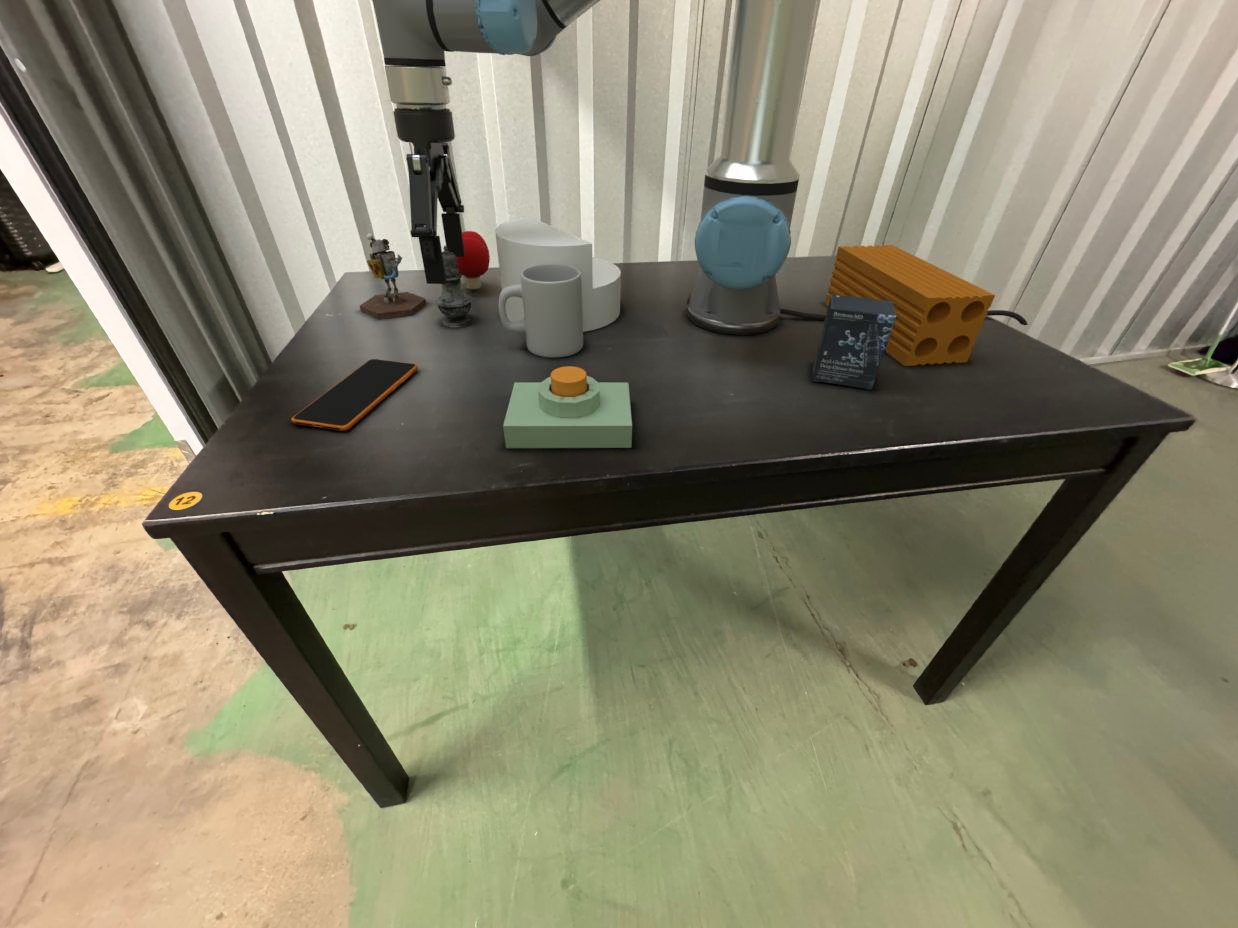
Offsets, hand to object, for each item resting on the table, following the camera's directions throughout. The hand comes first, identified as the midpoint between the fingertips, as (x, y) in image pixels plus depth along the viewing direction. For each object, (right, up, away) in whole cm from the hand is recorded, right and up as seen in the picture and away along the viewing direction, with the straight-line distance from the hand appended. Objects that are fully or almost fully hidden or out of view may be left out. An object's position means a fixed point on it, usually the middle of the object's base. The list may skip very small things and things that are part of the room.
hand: (447, 269), depth 86 cm
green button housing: (+21, -26, -20) cm, 39 cm away
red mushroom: (0, +2, +17) cm, 17 cm away
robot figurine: (-12, -4, +10) cm, 16 cm away
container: (+17, -4, +10) cm, 20 cm away
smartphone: (-6, -22, -15) cm, 27 cm away
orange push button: (+21, -22, -23) cm, 38 cm away
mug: (+15, -13, -3) cm, 20 cm away
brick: (+71, -8, +5) cm, 72 cm away
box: (+58, -19, -9) cm, 61 cm away
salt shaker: (0, -7, +5) cm, 9 cm away
